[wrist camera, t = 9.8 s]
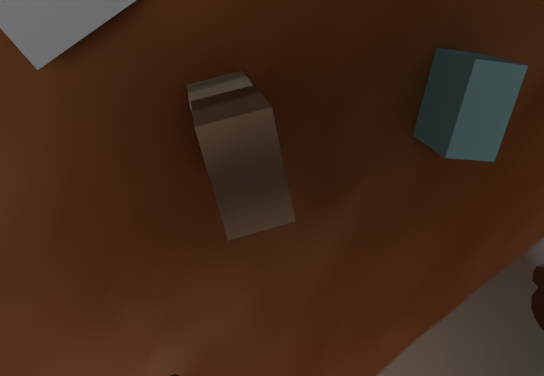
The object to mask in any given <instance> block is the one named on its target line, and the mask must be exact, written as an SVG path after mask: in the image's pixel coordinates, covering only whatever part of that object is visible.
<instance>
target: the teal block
mask: <svg viewBox="0 0 544 376" xmlns="http://www.w3.org/2000/svg"><path fill="white" fill-rule="evenodd" d="M527 68H528V66H527V65H523V64H520V63H516V62H512V61H508V60H505V59H501V58H497V57H494V56H490V55H486V54H481V53H474V52H467V51H459V50H452V49H444V48H436V52H435V55H434V59H433V63H432V66H431V70H430V74H429V77H428V81H427V85H426V88H425V92H424V96H423V99H422V103H421V107H420V111H419V114H418V118H417V122H416V125H415V129H414V133H413V136H414V137H415V138H417V139H418V140H420V141H421V142H423V143H424V144H426V145H427V146H429V147H430V148H431V149H433V150H434V151H436V152H437V153H439V154H440V155H442V156H443V157H445V158H451V159H464V160H478V161H491V162H495V159H496V156H497V153H498V150H499V147H500V145H501V142H502V139H503V136H504V133H505V130H506V127H507V125H508V122H509V119H510V116H511V113H512V110H513V107H514V105H515V102H516V99H517V96H518V93H519V90H520V87H521V85H522V82H523V79H524V76H525V73H526V70H527Z"/></svg>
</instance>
